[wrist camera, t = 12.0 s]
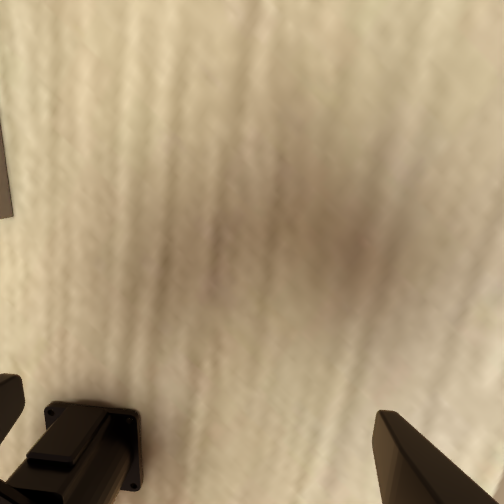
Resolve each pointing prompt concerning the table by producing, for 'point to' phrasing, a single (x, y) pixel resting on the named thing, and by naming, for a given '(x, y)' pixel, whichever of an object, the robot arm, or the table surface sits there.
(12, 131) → the table surface
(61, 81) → the table surface
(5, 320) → the table surface
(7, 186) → the dock
